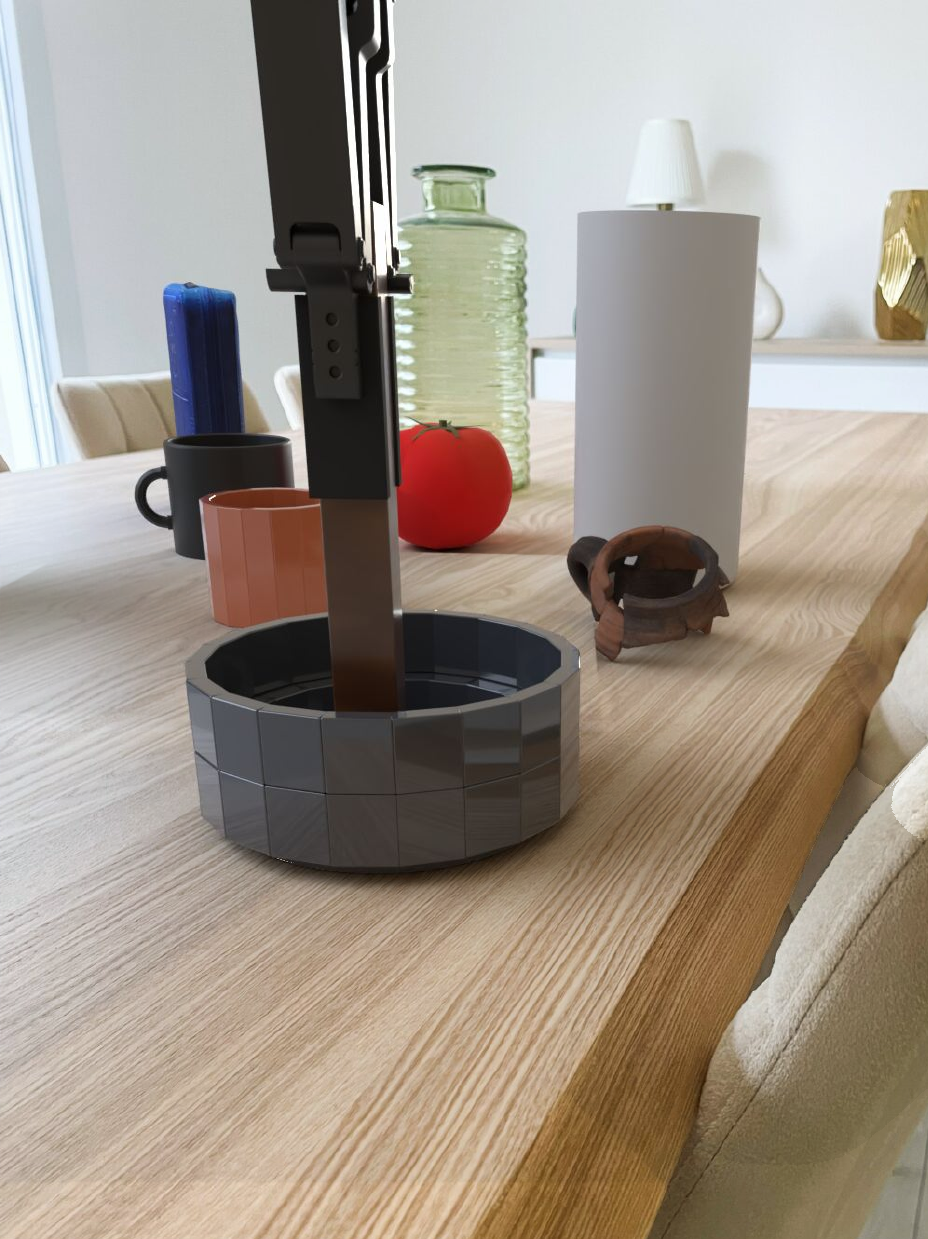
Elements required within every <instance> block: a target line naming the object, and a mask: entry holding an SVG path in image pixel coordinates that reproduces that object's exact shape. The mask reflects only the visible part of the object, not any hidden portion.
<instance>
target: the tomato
mask: <svg viewBox="0 0 928 1239" xmlns="http://www.w3.org/2000/svg"><path fill="white" fill-rule="evenodd" d="M404 417H405V418H408V419H410V420H412V421H414V422H415V423H417V424H416V425H415V426H413V427H411V428H408V429H402V430H400V452H401V474H402V484H401V485H400V486H399V487H396V491H397V513H398V535H399V539H402V540H403V541H404V542H407V543H409V544H412V545H414V546H418V547H422V548H428V549H431V550H432V549H433V550H444V549H445V550H447V549H453V548H464V547H470V546H473V545H476V544H478V543H480V542H481V541H483V540H484V539H486V538H488V537H489V536H491V535H492V534H494V533H495V532H496V530H498V528H500V526H501V525H502V523H503V521H504V519H505V517H506V515H507V514H508V512H509V509H510V505H511V501H512V497H513V486H514V485H513V484H514V479H513V470H512V467H511V464H510V461H509V459H508V455H507V453H506V451H505V448H504V446H503V444H502V443H501V441H500V440H499V438H497V437H496V436H495V435H494V434H493V433H492V432H491V431H489V430H487V429H483V428H480V427H482V426H484V424H481V425H479V424H478V425H476V426H475V425H453V424H452V419H451V420H450V421H448V420H447V419H439V420H438V422H421V421H419V420H417V419H415V418H412V417H410V416H404Z"/></svg>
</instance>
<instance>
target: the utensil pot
mask: <svg viewBox="0 0 928 1239" xmlns="http://www.w3.org/2000/svg"><path fill="white" fill-rule="evenodd" d="M199 504H200V513H201V522H202V532H203V541H204V550H205V560H204V561H205V569H206V579H207V588H208V597H209V605H210V614H211V616H212V619H213V620H214V621H215V622H216V623H218V624H220V625H223V626H226V627H229V628H234V629H242V628H246V627H250V626H254V625H258V624H262V623H266V622H270V621H274V620H278V619H282V618H289V617H296V616H303V615H310V614H317V613H324V612H328V609H327V595H326V580H325V566H324V552H323V538H322V524H321V510H320V499H311V498H309V488H301V487H295V488H250V489H239V490H229V491H222V492H217V493H212V494H208V495H206V496H204V497H202V498H200V499H199Z"/></svg>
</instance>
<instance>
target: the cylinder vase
mask: <svg viewBox="0 0 928 1239" xmlns="http://www.w3.org/2000/svg"><path fill="white" fill-rule="evenodd" d="M576 215H577V218H576V221H577V223H576V227H577V228H576V296H575V297H576V298H575V299H576V303H575V305H576V306H575V317H576V318H575V377H574V378H575V380H574V381H575V384H574V386H575V387H574V390H575V391H574V464H573V465H574V466H573V468H574V470H573V471H574V472H573V537H572V538H573V540H572V542H573V544H574V543H576V542H577V540H578V539H580V538H581V537H584V536H596V537H600V538H604V539H606V540H607V541H609V540H611V539H612V538H613V537H615V536H617V535H618V534H620V533H623V532H625V531H628V530H630V529H633V528H637V527H643V526H652V525H660V526H662V527H664V526H670V527H676V528H679V529H682V530H685V531H688V532H690V533H692V534H693V535H696V536H699V537H701V538H702V539H704V540H705V541H706V542H707V543H708V544H709V545H710V546H711V547H712V548H713V549H714V550H715V551H716V553H717V554H718V556H719V563H718V566H719V567H720V568H721V569H722V570H723V572H724V573H725V574H726V576H727V577H728V579H729V581H730V584H726V585H724V586H720V585H719V587H720V589H721V590H722V589H725V588H726V587H729V586H730V585H731V584H732V583H733V582H734V581H735V580H736V578H737V576H738V570H739V558H740V557H739V556H740V544H741V543H740V542H741V529H742V528H741V527H742V513H743V511H742V510H743V497H744V482H745V468H746V454H747V453H746V452H747V451H746V450H747V437H748V435H747V434H748V422H749V408H750V407H749V406H750V405H749V404H750V392H751V379H752V378H751V377H752V361H753V346H754V330H755V316H756V300H757V285H758V271H759V256H760V255H759V254H760V240H761V228H762V227H761V225H762V217H761V216H758V215H753V214H744V213H733V212H717V211H716V212H715V211H694V210H664V209H663V210H662V209H659V210H656V209H654V210H653V209H651V210H650V209H621V210H618V209H616V210H615V209H614V210H613V209H611V210H589V211H588V210H587V211H581V212H577V214H576ZM573 544H572V545H573ZM636 559H637V556H634V557H627V558H626V560H625V564H628V565H634V563H635V561H636ZM704 575H705V568H704V569H700V570H698V572H697V575H696V578H695V582H694V584H693V587H695V586H696V585H697V584H698V583H699V582H700V580H701V579H702V578H703V576H704Z"/></svg>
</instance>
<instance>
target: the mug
mask: <svg viewBox="0 0 928 1239" xmlns="http://www.w3.org/2000/svg"><path fill="white" fill-rule="evenodd" d="M162 447H163V456H164V464H165V465H161V466H159V467H153V468H150V469H148V470H147V471H145V472H144V473H143V474H142V475H141V476H140V477H139V478H138V480H137V482H136V484H135V486H134V501H135V505H136V508H137V510H138V512H139V513H140V514H141V515H142V517H143V518H144V519H145V520H146V521H147V522H149V523H151V524H152V525H153V526H156V527H159V528H164V529H167V530H168V531H171V530H172V532H173V541H174V549H175V553H176V554H177V555H179V556H181V557H184V558H188V559H192V560H199V561H206V560H205V550H204V541H203V532H202V522H201V513H200V504H199V499H200V498H202V497H204V496H206V495H208V494H212V493H217V492H222V491H229V490H239V489H250V488H296V486H295V484H296V483H295V470H294V459H293V458H294V457H293V446H292V440H291V439H290V438H289V437H285V436H282V435H276V434H268V433H267V434H266V433H265V434H264V433H250V432H249V433H212V434H194V435H184V436H177V435H176V436H172V437H168V438H166V439H164V440H163V442H162ZM157 480H162V481H163V480H164V481H165V480H166V482H167V489H168V498H169V499H168V500H169V507H170V514H167V515H166V516H165V515H162V514H159V513H157V512H156V511H155V510H154V509H153V508H152V507H151V506H150V504H149V502H148V498H147V492H148V488H149V487H150V485H152V483H154V482H155V481H157Z"/></svg>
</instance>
